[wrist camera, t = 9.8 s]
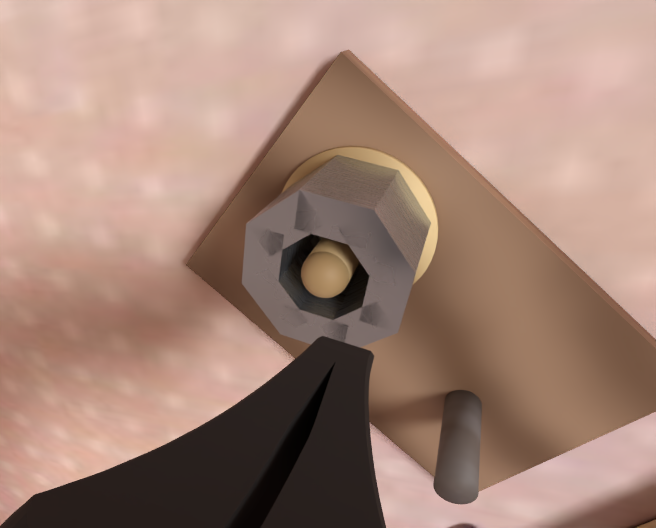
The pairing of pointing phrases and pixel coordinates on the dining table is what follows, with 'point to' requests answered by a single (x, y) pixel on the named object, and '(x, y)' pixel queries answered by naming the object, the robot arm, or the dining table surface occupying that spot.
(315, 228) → the collar
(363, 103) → the board
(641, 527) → the skincare box
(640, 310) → the dining table surface
